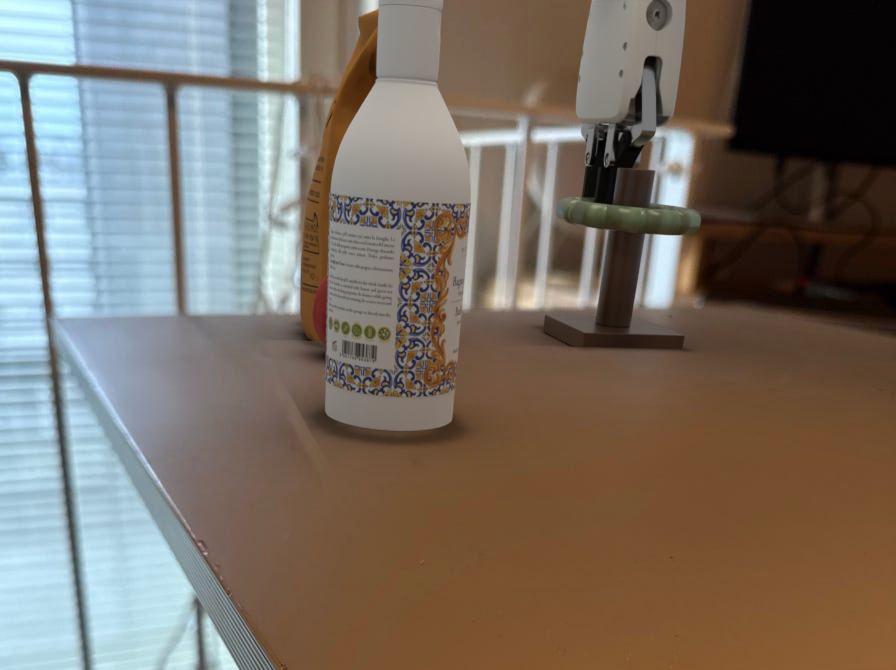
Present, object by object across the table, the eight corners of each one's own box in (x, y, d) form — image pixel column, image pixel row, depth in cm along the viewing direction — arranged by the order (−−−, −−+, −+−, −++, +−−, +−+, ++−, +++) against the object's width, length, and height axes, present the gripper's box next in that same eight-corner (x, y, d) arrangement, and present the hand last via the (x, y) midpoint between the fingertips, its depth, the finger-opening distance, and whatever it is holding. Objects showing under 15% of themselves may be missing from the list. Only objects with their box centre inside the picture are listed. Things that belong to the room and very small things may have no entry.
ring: (657, 224, 85) (661, 202, 84) (725, 240, 75) (730, 215, 75) (535, 216, 82) (538, 193, 82) (589, 231, 73) (593, 204, 72)
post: (634, 334, 88) (661, 170, 82) (681, 353, 80) (715, 174, 74) (542, 331, 86) (563, 163, 80) (582, 351, 78) (608, 167, 72)
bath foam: (440, 453, 49) (477, -16, 40) (309, 437, 50) (316, -25, 41) (459, 421, 55) (496, 7, 46) (342, 407, 56) (355, 0, 47)
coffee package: (414, 327, 83) (433, 27, 73) (435, 356, 72) (460, 8, 62) (298, 322, 81) (301, 15, 71) (301, 350, 71) (305, -7, 60)
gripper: (736, -49, 69) (686, 229, 77) (638, -20, 82) (605, 214, 91) (641, -62, 67) (600, 224, 75) (557, -30, 80) (530, 210, 89)
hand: (603, 217), depth 83 cm, fingers closed on ring, 2 cm apart
